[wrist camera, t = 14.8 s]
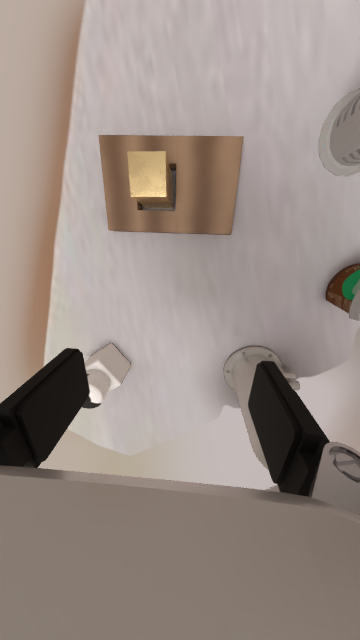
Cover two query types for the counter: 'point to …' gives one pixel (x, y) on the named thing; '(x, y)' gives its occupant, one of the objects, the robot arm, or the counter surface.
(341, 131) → the french press
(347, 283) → the food container
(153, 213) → the walnut square hole board
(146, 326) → the counter surface
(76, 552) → the robot arm
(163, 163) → the brass peg
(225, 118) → the counter surface
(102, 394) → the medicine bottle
